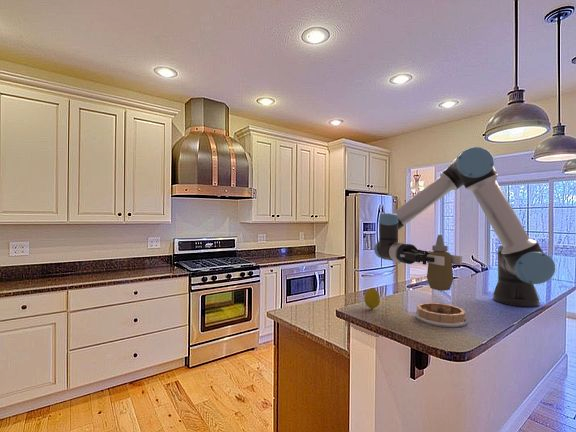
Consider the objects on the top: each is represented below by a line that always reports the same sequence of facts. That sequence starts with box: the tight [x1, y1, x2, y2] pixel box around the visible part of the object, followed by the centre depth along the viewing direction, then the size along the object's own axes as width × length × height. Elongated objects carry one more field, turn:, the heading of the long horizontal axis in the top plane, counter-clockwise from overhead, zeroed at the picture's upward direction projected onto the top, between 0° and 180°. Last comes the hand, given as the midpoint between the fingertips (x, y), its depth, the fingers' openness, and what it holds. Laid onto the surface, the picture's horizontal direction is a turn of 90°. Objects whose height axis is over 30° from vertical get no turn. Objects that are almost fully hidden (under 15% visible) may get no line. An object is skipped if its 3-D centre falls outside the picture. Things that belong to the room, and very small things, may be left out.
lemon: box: [364, 287, 381, 310], centre depth 114 cm, size 6×6×8 cm
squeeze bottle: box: [426, 234, 455, 292], centre depth 102 cm, size 8×8×18 cm
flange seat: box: [415, 302, 467, 329], centre depth 102 cm, size 15×15×4 cm
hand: (452, 260), depth 98 cm, fingers closed on squeeze bottle, 6 cm apart
